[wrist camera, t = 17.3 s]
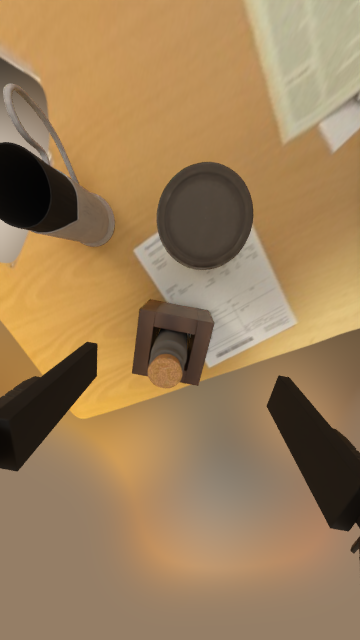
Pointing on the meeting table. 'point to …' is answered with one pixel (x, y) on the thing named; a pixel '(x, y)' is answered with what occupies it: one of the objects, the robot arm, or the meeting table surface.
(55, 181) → the glass holder
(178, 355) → the bottle
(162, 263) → the meeting table surface
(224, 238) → the coffee can
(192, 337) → the bottle stand
